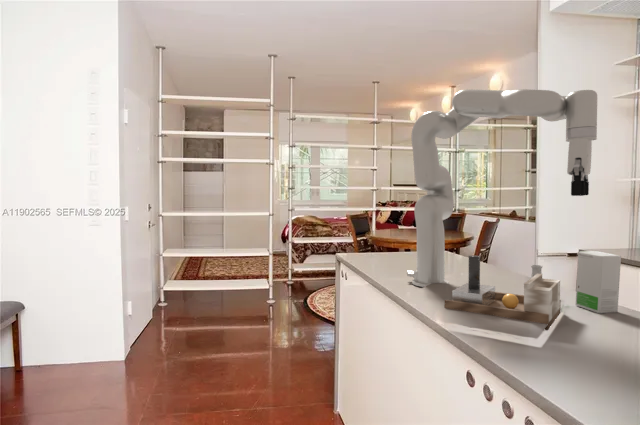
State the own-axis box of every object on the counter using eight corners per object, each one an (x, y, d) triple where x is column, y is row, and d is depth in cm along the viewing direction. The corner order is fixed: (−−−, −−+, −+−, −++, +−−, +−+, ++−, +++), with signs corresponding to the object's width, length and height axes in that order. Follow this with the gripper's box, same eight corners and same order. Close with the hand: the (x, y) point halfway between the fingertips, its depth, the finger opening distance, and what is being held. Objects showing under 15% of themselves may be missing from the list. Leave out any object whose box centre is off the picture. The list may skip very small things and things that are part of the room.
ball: (500, 309, 115) (500, 294, 115) (504, 305, 118) (504, 291, 118) (516, 311, 112) (516, 296, 112) (520, 308, 116) (520, 293, 115)
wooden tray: (444, 313, 117) (444, 275, 116) (466, 299, 131) (467, 266, 131) (547, 330, 102) (548, 287, 101) (560, 312, 116) (560, 275, 116)
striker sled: (452, 305, 119) (452, 257, 118) (466, 296, 128) (467, 252, 127) (482, 309, 114) (482, 260, 113) (495, 300, 123) (495, 254, 123)
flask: (553, 301, 128) (553, 268, 128) (526, 300, 130) (527, 267, 129) (545, 295, 135) (546, 263, 135) (520, 295, 137) (521, 263, 136)
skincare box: (574, 306, 123) (575, 251, 122) (594, 304, 124) (595, 250, 124) (600, 314, 115) (601, 255, 114) (620, 312, 116) (621, 254, 115)
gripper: (570, 139, 133) (569, 195, 133) (561, 133, 119) (560, 195, 120) (599, 137, 128) (598, 195, 129) (593, 130, 114) (592, 195, 115)
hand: (579, 195), depth 124 cm, fingers open, 9 cm apart
